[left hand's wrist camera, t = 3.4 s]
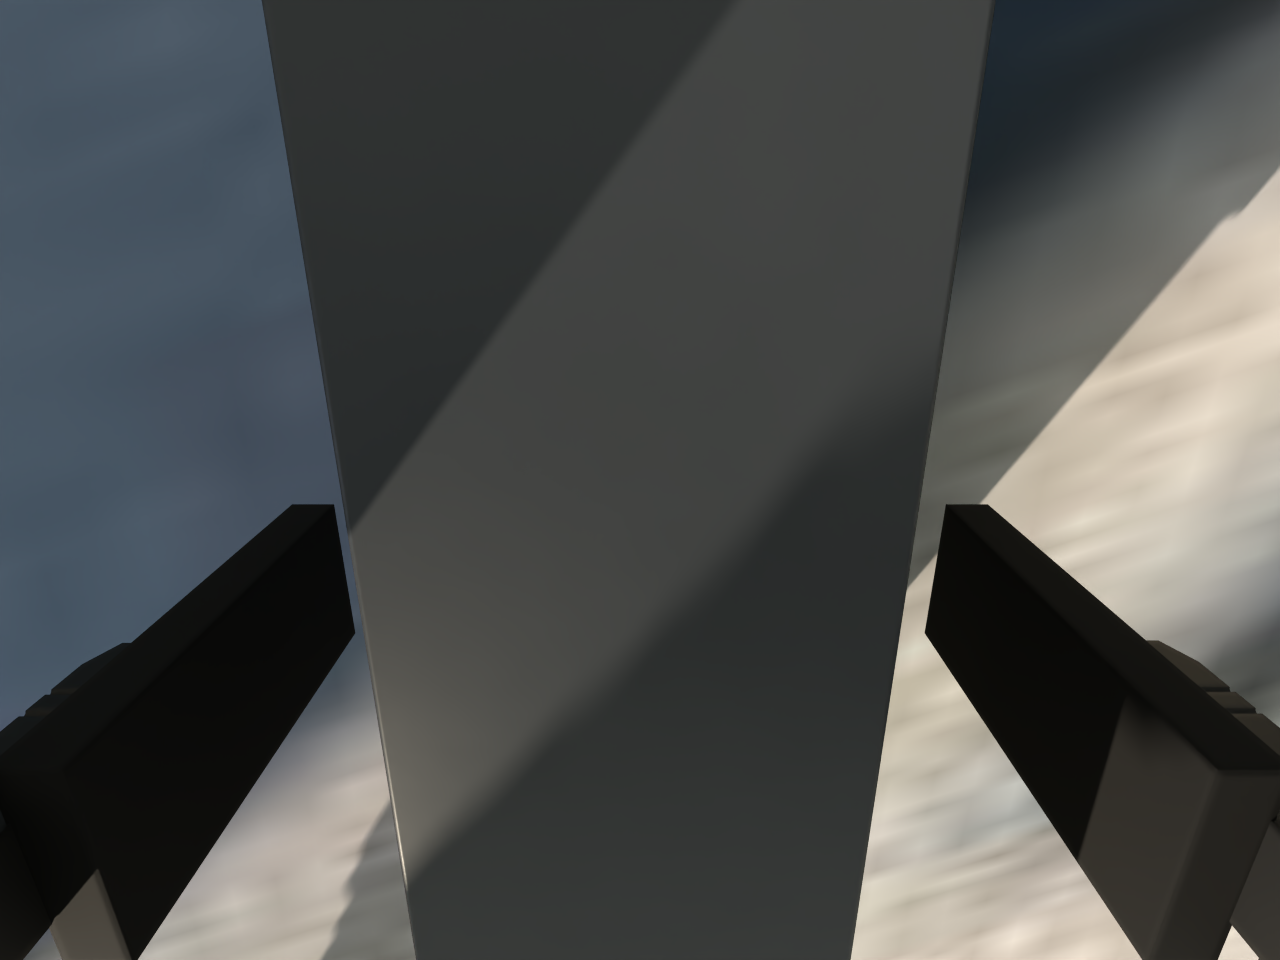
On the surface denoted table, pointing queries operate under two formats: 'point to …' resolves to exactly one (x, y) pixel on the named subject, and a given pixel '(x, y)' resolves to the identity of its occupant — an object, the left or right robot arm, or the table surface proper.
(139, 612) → the table surface
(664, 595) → the beam
